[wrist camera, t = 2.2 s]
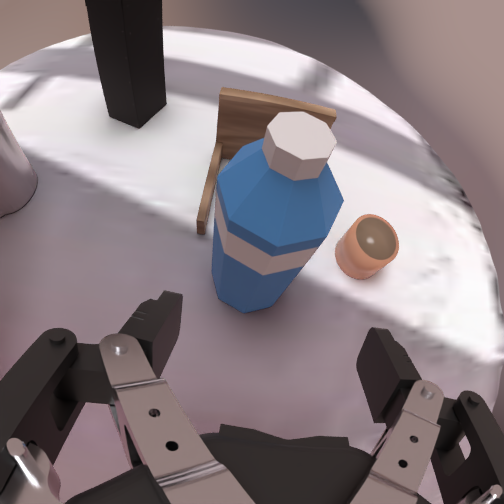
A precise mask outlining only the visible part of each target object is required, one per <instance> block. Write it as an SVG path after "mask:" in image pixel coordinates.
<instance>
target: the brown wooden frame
mask: <svg viewBox="0 0 504 504" xmlns="http://www.w3.org/2000/svg"><path fill="white" fill-rule="evenodd" d="M279 112H305V113H307V114H309V115H311V116H313V117H315V118H317V119H319V120H321V121H323V122H325V123H326V124H327V125H328V127H329V129H331V127H332V124H333V122H335V120H336V110H334V109H330V108H326V107H322V106H319V105H314V104H310V103H306V102H302V101H297V100H293V99H288V98H283V97H278V96H273V95H268V94H263V93H257V92H251V91H245V90H238V89H232V88H224V87H222V88H221V91H220V94H219V110H218V122H217V136H216V144H215V148H214V152H213V155H212V159H211V163H210V167H209V171H208V175H207V179H206V183H205V187H204V191H203V195H202V199H201V203H200V207H199V212H198V216H197V233H199V234H205V230H206V225H207V220H208V215H209V211H210V206H211V201H212V197H213V192H214V188H215V184H216V179H217V175H218V170H219V166H220V162H221V158H224V159H232V158H233V157H234V156H235V155H236V153H237V152H238V151H239V150H240V149H241V148H242V147H243V146H245V145H247V144H249V143H252V142H255V141H257V140H260V139H262V138H264V137H265V133H266V129H267V126H268V125H269V124H270V122H271V121H272V120H273V119H274V118H275V117H276V116H277V115H278V113H279Z"/></svg>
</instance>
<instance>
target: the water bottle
mask: <svg viewBox="0 0 504 504" xmlns="http://www.w3.org/2000/svg"><path fill="white" fill-rule="evenodd" d="M336 143H337V141H336V139H335V137H334V136H333V134H332V132H331V130H330V129H329V127H328V125H327V124H326V123H325V122H323V121H321V120H319V119H317V118H315V117H313V116H311V115H309V114H307V113H305V112H279V113H278V115H277V116H276V117H275V118H274V119H273V120H272V121H271V122H270V124H269V125H268V126H267V129H266V133H265V137H264V138H262V139H260V140H257V141H255V142H252V143H249V144H247V145H245V146H243V147H242V148H241V149H240V150H239V151H238V152H237V153H236V155H235V156H234V157H233V158H232V159H231V160H230V162H229V163H228V164H227V165H226V166H225V168H224V169H223V170H222V171H221V172H220V174H219V175H218V176H217V187H216V202H215V218H214V235H213V255H212V275H213V279H214V283H215V287H216V291H217V295H218V299H220V300H222V301H223V302H225V303H227V304H228V305H230V306H232V307H234V308H235V309H237V310H239V311H240V312H242V313H247V312H252V311H256V310H260V309H264V308H268V307H271V306H272V305H273V304H274V303H275V302H276V300H277V299H278V298H279V297H280V295H281V294H282V293H283V292H284V290H285V289H286V288H287V287H288V285H289V284H290V283H291V282H292V280H293V279H294V278H295V277H296V275H297V274H298V273H299V272H300V270H301V269H302V268H303V267H304V265H305V264H306V263H307V262H308V260H309V259H310V258H311V256H312V255H313V254H314V253H315V251H316V250H317V249H318V247H319V246H320V245H321V244H322V242H323V241H324V240H325V238H326V237H327V235H328V233H329V231H330V229H331V227H332V225H333V223H334V221H335V218H336V216H337V214H338V212H339V210H340V208H341V206H342V203H343V201H344V200H343V197H342V195H341V193H340V190H339V188H338V186H337V184H336V181H335V179H334V177H333V175H332V172H331V170H330V168H329V166H328V164H327V161H328V159H329V157H330V155H331V153H332V151H333V149H334V147H335V145H336Z"/></svg>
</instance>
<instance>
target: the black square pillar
mask: <svg viewBox="0 0 504 504" xmlns="http://www.w3.org/2000/svg"><path fill="white" fill-rule="evenodd" d="M85 3H86V6H87V11H88V18H89V24H90V30H91V36H92V41H93V46H94V52H95V57H96V61H97V66H98V71H99V75H100V80H101V84H102V89H103V93H104V97H105V101H106V105H107V109H108V113H109V116H110V117H112V118H115V119H117V120H120V121H122V122H125V123H127V124H129V125H132V126H134V127H137V128H140V127H141V126H143V125H144V124H145V123H146V122H147V121H148V120H149V119H150V118H151V117H152V116H153V115H155V114H156V113H157V112H158V111H159V110H160V109H161V108H162V107H164V106H165V105H166V104H167V103H166V90H165V74H164V55H163V28H162V0H85Z"/></svg>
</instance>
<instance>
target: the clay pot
mask: <svg viewBox="0 0 504 504" xmlns="http://www.w3.org/2000/svg"><path fill="white" fill-rule="evenodd" d="M398 250H399V241H398V237H397V234H396V232H395V230H394V229H393V227H392V226H391V225H390V224H389V223H388V222H387V221H386V220H384V219H383V218H381V217H379V216H376V215H372V214H367V215H363V216H361V217H359V218H358V219H357V220H356V221H355V222H354V224H353V225H352V226H351V227H350V228H349V230H348V231H347V232H346V233H345V234H344V235H343V237H342V238H341V239H340V240H339V241H338V243H337V245H336V248H335V256H336V261H337V263H338V265H339V267H340V268H341V270H342V271H343V272H344V273H345V274H347V275H348V276H350V277H352V278H354V279H367V278H369V277H371V276H372V275H373V274H375V273H376V272H377V271H379V270H380V269H381V268H383V267H384V266H385V265H387V264H388V263H389V262H391V261H392V260H393V259H394V258H395V257H396V255H397V253H398Z"/></svg>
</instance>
